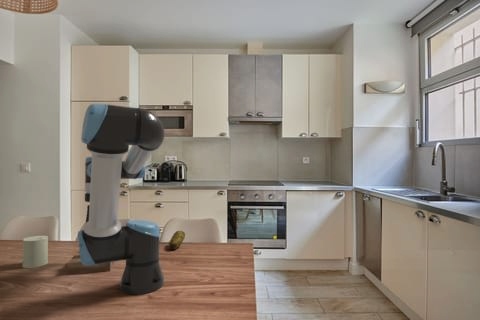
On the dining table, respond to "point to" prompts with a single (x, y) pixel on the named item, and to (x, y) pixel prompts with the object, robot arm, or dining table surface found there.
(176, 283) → the dining table surface
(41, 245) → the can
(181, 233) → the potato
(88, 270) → the walnut block
